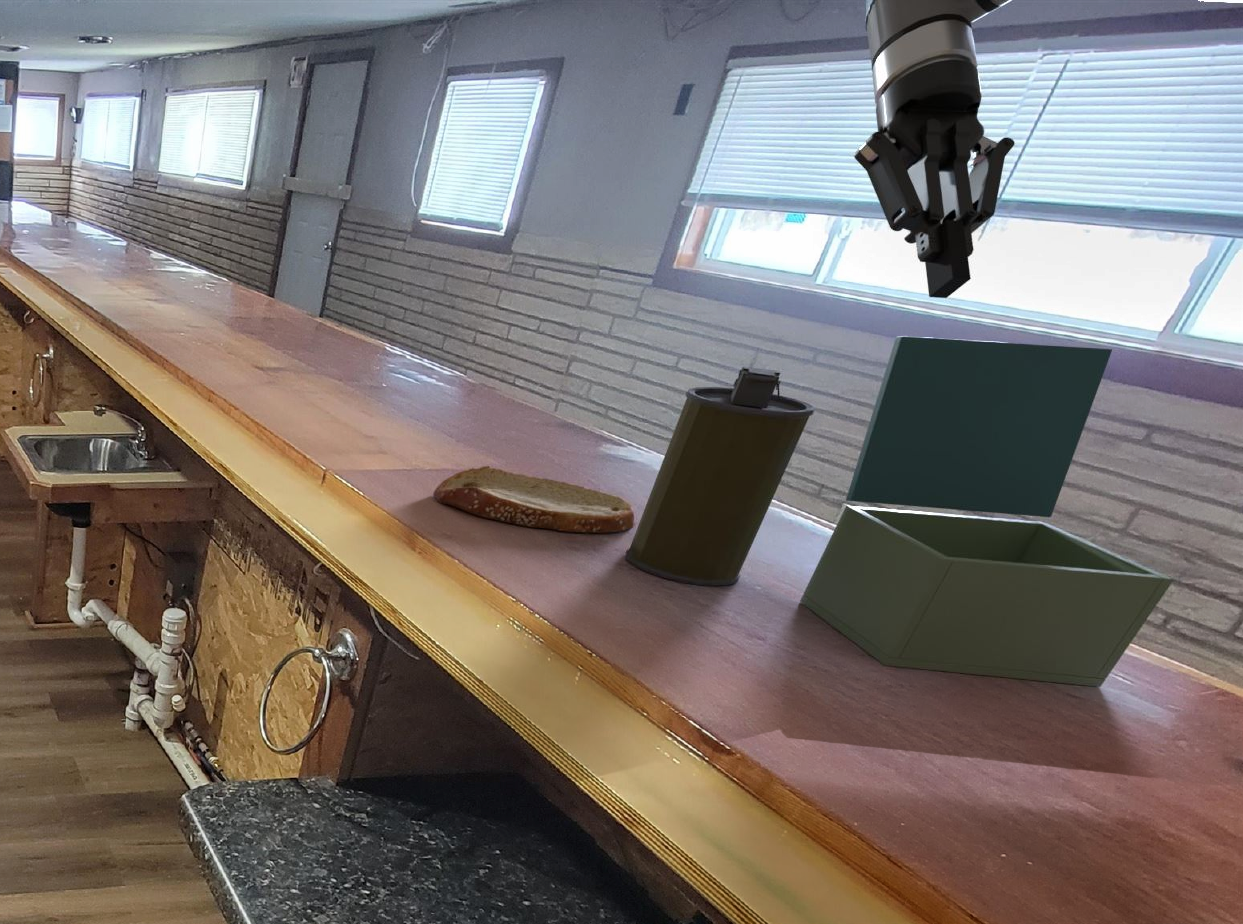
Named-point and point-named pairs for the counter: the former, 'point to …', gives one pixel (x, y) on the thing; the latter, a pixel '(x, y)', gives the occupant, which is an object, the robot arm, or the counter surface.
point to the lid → (976, 425)
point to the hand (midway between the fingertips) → (949, 287)
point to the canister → (718, 479)
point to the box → (981, 595)
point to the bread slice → (535, 502)
